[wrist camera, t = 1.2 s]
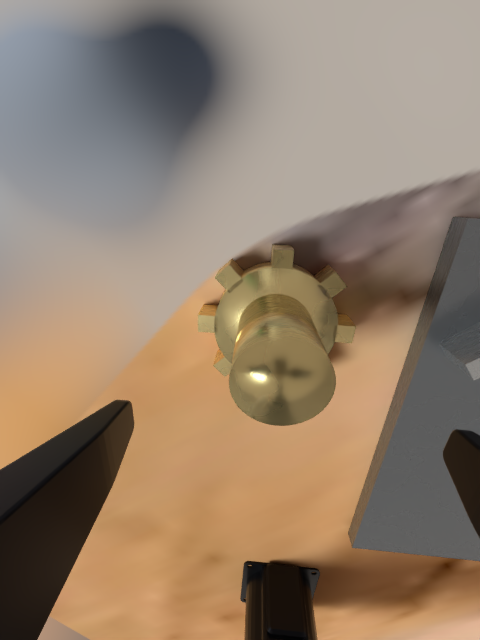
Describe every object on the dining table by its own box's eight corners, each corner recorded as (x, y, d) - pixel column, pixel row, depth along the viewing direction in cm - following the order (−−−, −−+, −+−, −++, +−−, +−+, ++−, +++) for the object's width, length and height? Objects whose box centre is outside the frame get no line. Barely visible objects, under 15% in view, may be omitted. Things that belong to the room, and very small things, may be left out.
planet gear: (332, 382, 16) (368, 473, 11) (203, 371, 17) (175, 455, 11) (361, 249, 13) (431, 284, 8) (203, 240, 14) (165, 266, 8)
